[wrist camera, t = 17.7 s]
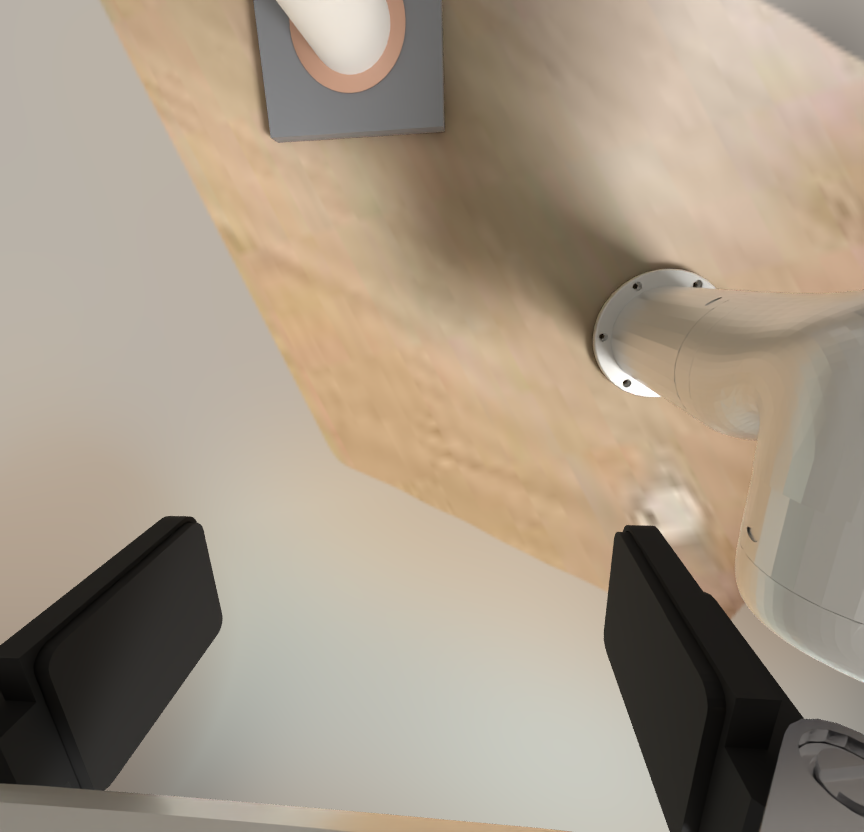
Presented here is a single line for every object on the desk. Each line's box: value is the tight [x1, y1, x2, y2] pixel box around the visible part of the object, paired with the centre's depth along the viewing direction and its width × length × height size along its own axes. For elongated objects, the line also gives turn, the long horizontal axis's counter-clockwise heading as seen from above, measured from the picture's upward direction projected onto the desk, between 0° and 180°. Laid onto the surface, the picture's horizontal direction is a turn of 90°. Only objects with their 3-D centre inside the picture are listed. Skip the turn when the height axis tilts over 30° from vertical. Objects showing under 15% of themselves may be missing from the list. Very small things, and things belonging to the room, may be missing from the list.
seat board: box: [253, 0, 445, 143], centre depth 38 cm, size 16×16×2 cm
